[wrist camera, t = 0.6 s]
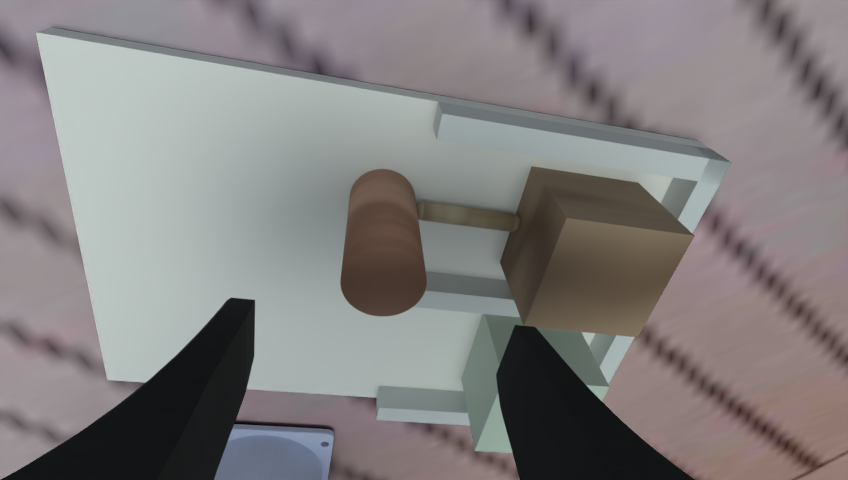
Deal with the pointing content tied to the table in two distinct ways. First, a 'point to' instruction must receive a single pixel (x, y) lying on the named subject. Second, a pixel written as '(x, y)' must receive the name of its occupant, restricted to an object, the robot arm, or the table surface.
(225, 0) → the table surface
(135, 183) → the pale grey tray
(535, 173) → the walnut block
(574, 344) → the sage block
